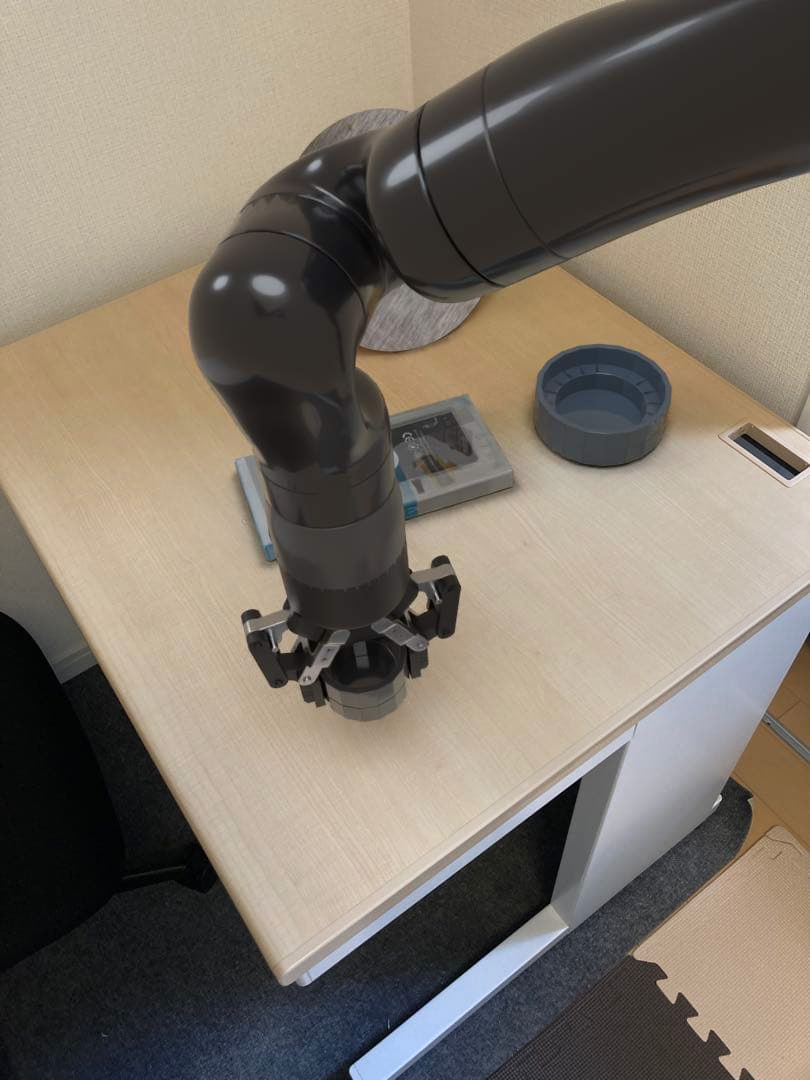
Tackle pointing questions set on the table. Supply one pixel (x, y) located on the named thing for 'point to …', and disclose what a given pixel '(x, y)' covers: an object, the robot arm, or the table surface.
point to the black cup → (367, 679)
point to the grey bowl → (601, 404)
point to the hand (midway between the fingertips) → (365, 681)
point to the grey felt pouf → (403, 311)
